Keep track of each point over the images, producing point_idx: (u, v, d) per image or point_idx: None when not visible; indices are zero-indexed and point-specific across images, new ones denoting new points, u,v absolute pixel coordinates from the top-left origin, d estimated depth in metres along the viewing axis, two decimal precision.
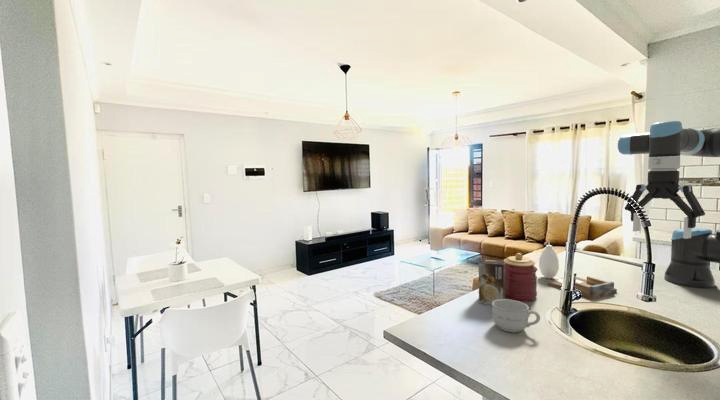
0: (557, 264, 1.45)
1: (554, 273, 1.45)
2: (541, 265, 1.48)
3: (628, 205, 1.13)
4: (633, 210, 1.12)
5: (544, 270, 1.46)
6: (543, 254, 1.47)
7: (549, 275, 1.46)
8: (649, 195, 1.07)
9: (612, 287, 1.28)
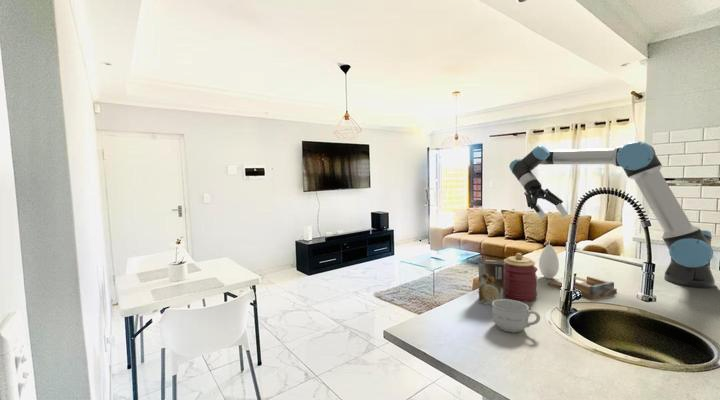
0: (557, 264, 1.45)
1: (554, 273, 1.45)
2: (541, 265, 1.48)
3: None
4: None
5: (544, 270, 1.46)
6: (543, 254, 1.47)
7: (549, 275, 1.46)
8: None
9: (612, 287, 1.28)
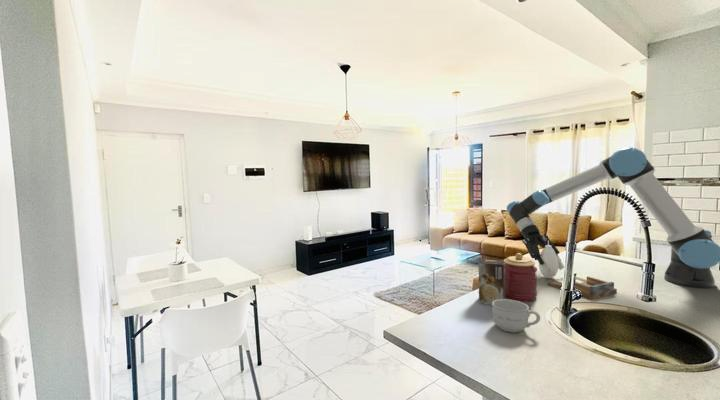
0: (557, 264, 1.45)
1: (554, 273, 1.45)
2: (540, 266, 1.48)
3: None
4: None
5: (544, 270, 1.46)
6: (542, 254, 1.47)
7: (549, 275, 1.46)
8: None
9: (612, 287, 1.28)
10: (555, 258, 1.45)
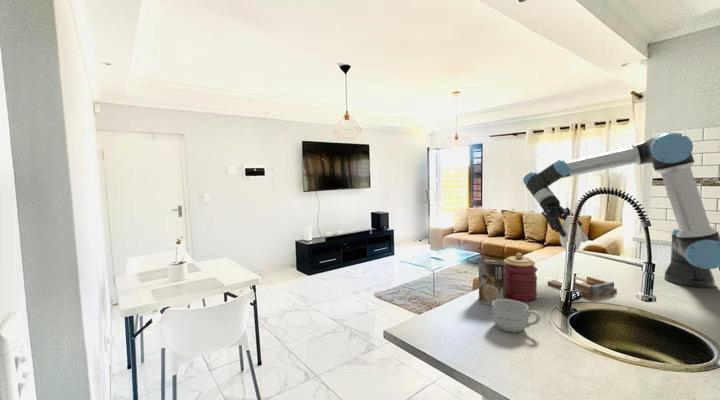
0: (580, 236, 1.34)
1: (577, 246, 1.34)
2: (562, 238, 1.37)
3: None
4: None
5: (566, 242, 1.35)
6: (564, 226, 1.36)
7: None
8: None
9: (612, 287, 1.28)
10: (578, 229, 1.34)
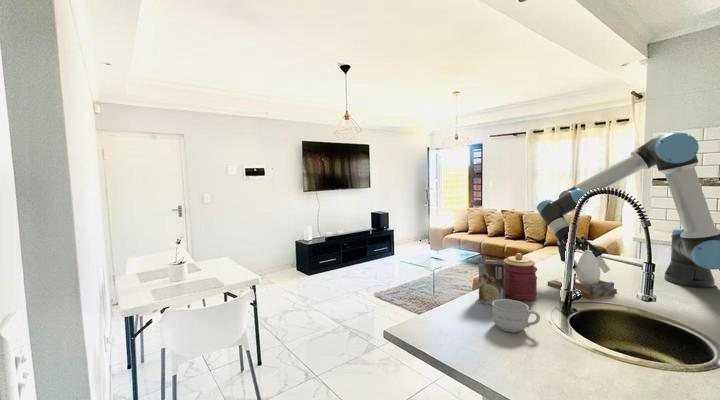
0: (598, 272, 1.28)
1: (595, 282, 1.28)
2: None
3: None
4: None
5: (583, 278, 1.29)
6: (582, 260, 1.30)
7: (589, 284, 1.29)
8: None
9: (612, 287, 1.28)
10: (597, 265, 1.28)
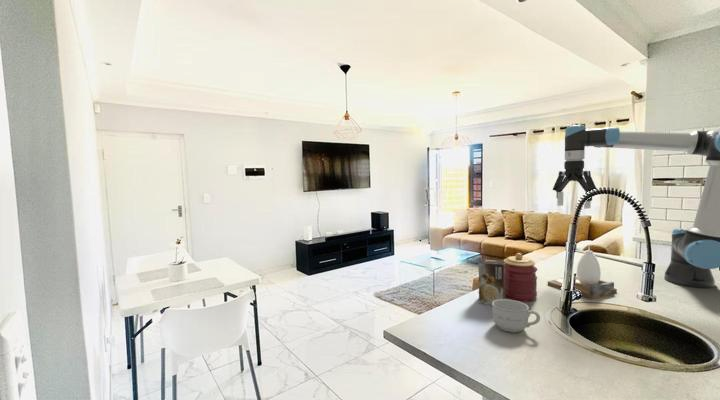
0: (599, 272, 1.28)
1: (595, 282, 1.28)
2: (580, 273, 1.31)
3: (554, 186, 1.55)
4: (557, 190, 1.53)
5: (584, 278, 1.29)
6: (582, 261, 1.30)
7: (589, 284, 1.29)
8: (565, 178, 1.48)
9: (612, 287, 1.28)
10: (597, 265, 1.28)
